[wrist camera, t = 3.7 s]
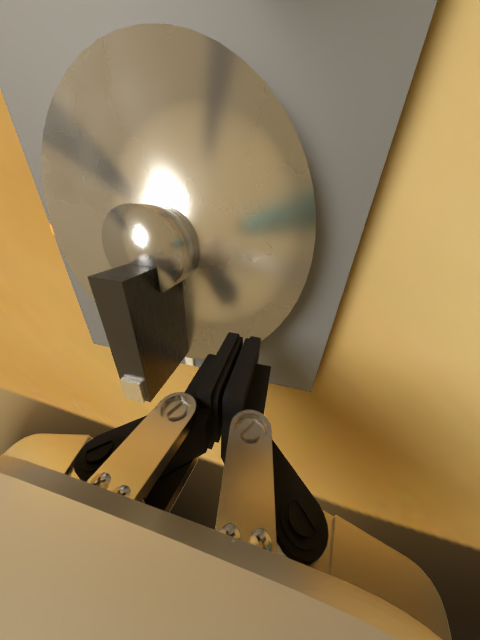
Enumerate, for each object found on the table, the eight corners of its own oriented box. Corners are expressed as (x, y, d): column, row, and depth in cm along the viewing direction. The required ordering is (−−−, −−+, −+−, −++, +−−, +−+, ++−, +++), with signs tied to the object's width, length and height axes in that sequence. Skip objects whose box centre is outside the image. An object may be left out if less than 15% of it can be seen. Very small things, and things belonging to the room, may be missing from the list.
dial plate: (443, -51, 6) (473, -104, 5) (310, 381, 15) (310, 394, 14) (-4, 16, 9) (-40, -7, 8) (103, 337, 18) (91, 344, 17)
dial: (20, 61, 9) (-271, -96, 4) (360, 29, 6) (519, -428, 2) (105, 328, 16) (26, 377, 11) (286, 365, 13) (280, 449, 9)
